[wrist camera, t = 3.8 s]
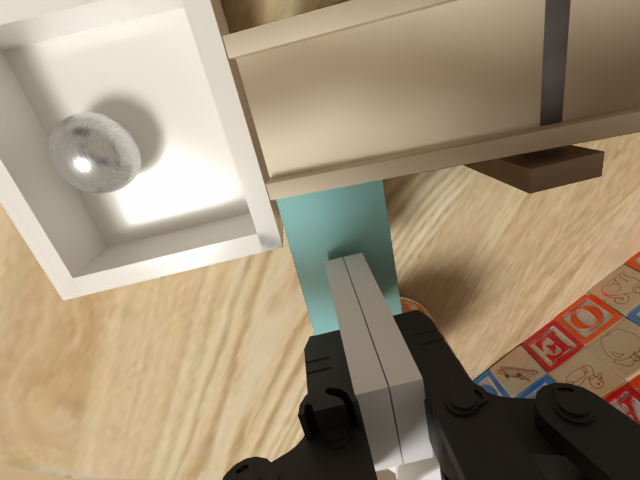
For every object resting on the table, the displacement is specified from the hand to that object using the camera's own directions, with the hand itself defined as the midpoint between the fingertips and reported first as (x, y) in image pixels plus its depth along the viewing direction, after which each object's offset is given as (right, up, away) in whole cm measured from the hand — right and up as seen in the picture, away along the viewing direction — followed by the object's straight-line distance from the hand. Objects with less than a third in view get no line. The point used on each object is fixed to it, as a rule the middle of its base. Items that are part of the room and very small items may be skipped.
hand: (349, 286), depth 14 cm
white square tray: (-10, +7, +4) cm, 13 cm away
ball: (-11, +6, +2) cm, 13 cm away
